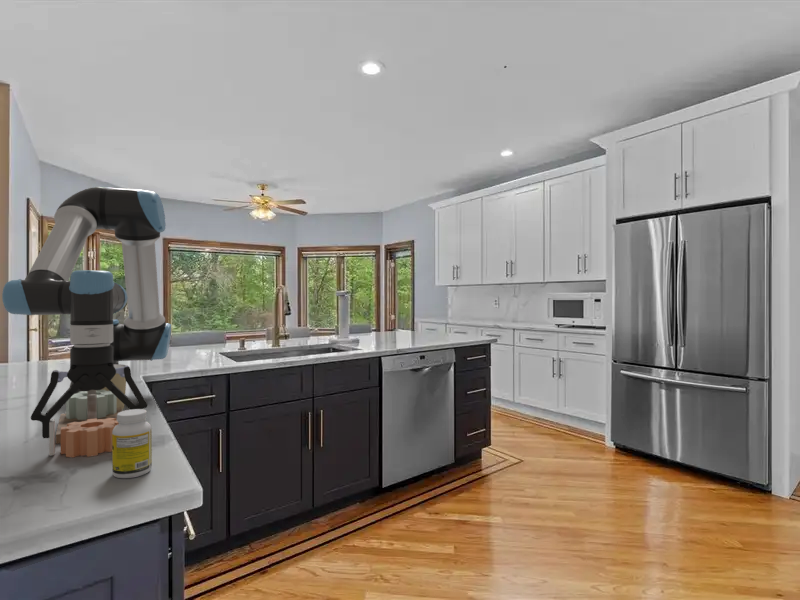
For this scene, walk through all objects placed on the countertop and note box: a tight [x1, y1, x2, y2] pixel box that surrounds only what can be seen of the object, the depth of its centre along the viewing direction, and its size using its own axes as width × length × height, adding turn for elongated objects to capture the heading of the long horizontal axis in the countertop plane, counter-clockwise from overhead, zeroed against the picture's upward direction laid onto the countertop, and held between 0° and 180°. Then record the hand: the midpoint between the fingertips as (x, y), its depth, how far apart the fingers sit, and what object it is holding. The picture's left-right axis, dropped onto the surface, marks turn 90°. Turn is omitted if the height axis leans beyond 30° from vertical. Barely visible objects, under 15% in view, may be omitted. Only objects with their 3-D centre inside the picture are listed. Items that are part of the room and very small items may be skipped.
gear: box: [65, 390, 117, 420], centre depth 118 cm, size 11×11×5 cm
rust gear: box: [60, 418, 119, 458], centre depth 99 cm, size 11×11×5 cm
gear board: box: [55, 390, 123, 445], centre depth 113 cm, size 20×13×9 cm, turn 33°
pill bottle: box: [111, 408, 153, 479], centre depth 86 cm, size 6×6×11 cm
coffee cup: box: [101, 364, 127, 411], centre depth 130 cm, size 9×9×12 cm
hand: (92, 447), depth 99 cm, fingers open, 13 cm apart
